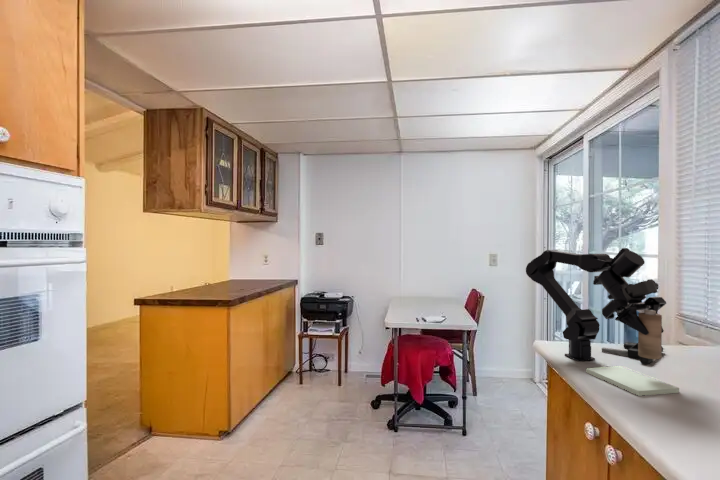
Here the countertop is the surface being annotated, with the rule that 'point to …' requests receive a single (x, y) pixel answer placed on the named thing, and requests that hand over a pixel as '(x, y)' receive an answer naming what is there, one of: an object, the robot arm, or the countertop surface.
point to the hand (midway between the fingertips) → (654, 333)
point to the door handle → (629, 352)
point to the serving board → (632, 380)
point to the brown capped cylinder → (650, 335)
